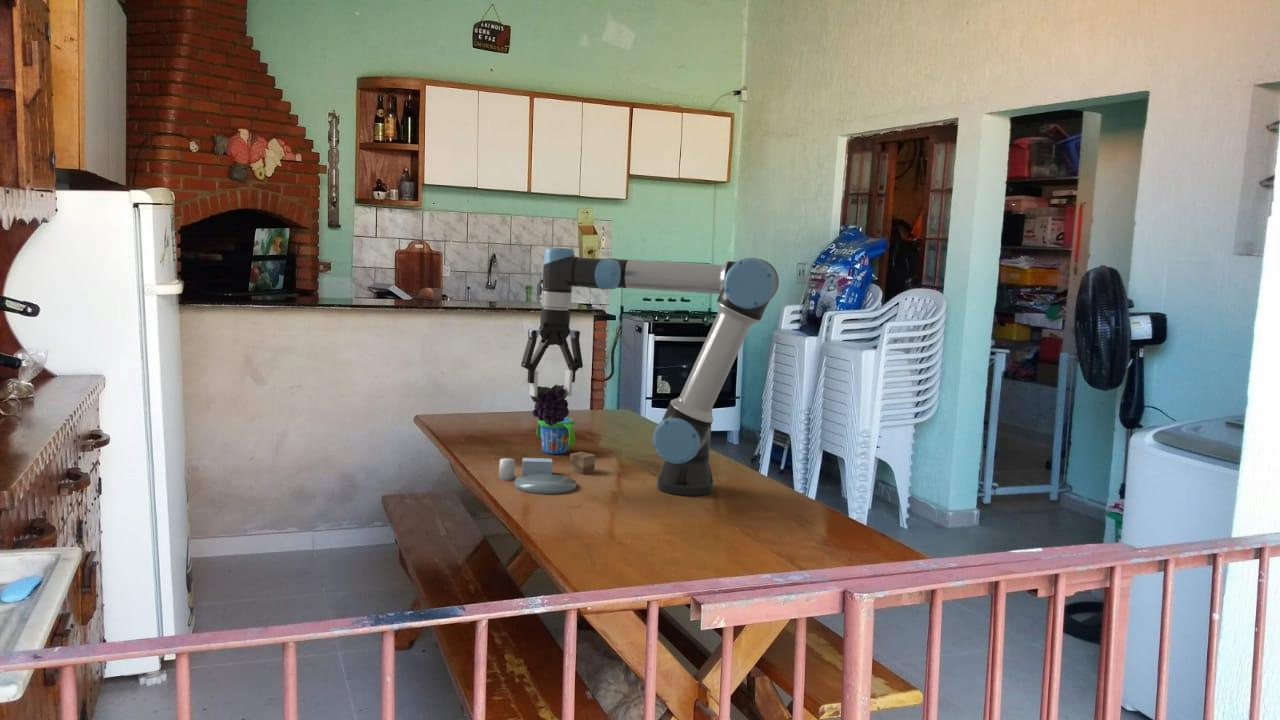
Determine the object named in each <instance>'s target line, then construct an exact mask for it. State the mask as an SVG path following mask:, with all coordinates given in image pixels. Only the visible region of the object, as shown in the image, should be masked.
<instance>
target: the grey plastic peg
mask: <svg viewBox="0 0 1280 720" xmlns="http://www.w3.org/2000/svg"><path fill="white" fill-rule="evenodd" d="M515 462H516V460H515V458H510V457H507V458H506V457H503V458H500V459H499V463H498V464H499V467H498V468H499V469H498V480H501V481H512V480H515V464H516V463H515Z"/></svg>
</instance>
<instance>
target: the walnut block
mask: <svg viewBox="0 0 1280 720" xmlns="http://www.w3.org/2000/svg"><path fill="white" fill-rule="evenodd" d="M568 464H569V467H568V470H569V471H568V472H571V473H576V474H578V475H582V476H583V475H587V474H592V473H594V472H595V470H596V469H595V467H596V466H595V465H596V454H594V453H590V452H585V451H578V452H574V453H570V454H569V463H568Z"/></svg>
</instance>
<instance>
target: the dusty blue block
mask: <svg viewBox="0 0 1280 720" xmlns="http://www.w3.org/2000/svg"><path fill="white" fill-rule="evenodd" d="M521 464H522V466H521V476H525V475H532V474H551V475H553V474H552V473H553V459H552V458H544V457H543V458H541V457H540V458H538V457H537V458H535V457H522V463H521Z"/></svg>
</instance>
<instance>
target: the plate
mask: <svg viewBox="0 0 1280 720" xmlns="http://www.w3.org/2000/svg"><path fill="white" fill-rule="evenodd" d="M514 487H515V488H516V489H517V490H519V491H520V492H521V491H522V492H524V493H525V492H526V493H529V492H530V493H531V494H536V493H537V494H538V495H560V494H561V493H562V494H566V493H571V492H573V491H575V490H576V489H577V481H576V480H575V479H573V478H571V477H569V476H564V475H561V474H560V475H559V474H558V475H557V474H552V475H551V474H532V475H521V476H518V477H516V478H514ZM559 493H560V494H559ZM562 494H561V495H562Z"/></svg>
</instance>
